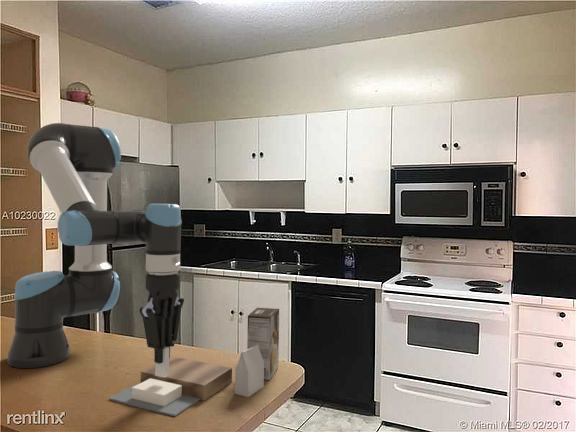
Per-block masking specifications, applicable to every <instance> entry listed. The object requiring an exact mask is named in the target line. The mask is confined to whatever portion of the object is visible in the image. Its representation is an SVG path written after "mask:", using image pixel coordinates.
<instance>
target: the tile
mask: <svg viewBox="0 0 576 432" xmlns="http://www.w3.org/2000/svg"><path fill="white" fill-rule="evenodd" d="M137 384H138V385H136V384H135V385H136V386H134V385H133V386H134V387H132V386H131V387H132V398H133V399H137V400H141V401H145V402H149V403H153V404H157V405H161V406H166V405H167V404H169V403H171V402H172V401H174V400H176V399H177V398H179V397H181V396H182V385H178V384H174V383H169V382H165V381H160V380H156V379H151V378H150V379H148V380H146V381H144V382H142V383H141V382H140V383H137Z"/></svg>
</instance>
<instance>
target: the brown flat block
mask: <svg viewBox="0 0 576 432" xmlns="http://www.w3.org/2000/svg"><path fill="white" fill-rule="evenodd" d="M150 378H151V379H156V380H160V381H165V382H169V383H174V384H178V385H182V395H187V396H191V397H195V398H200V401H204V402H205V401H206V400H207V399H209V398H211V397H212V396H213V395H215V394H216V393H218V392H219V391H221V390H222V389H224V388H225V387H227V386H228V385H230V384H231V383H233V368H232V367H229V366H224V365H218V364H214V363H209V362H203V361H197V360H193V359H187V358H184V357H183V358H182V357H177V356H170V359H169V376H167V377H165V378H164V377H159V376H155V364H154V365H152V366H150V367H147V368H145V369H142V370H141V371H140V383H142V382H144V381H146V380H148V379H150ZM229 383H230V384H229Z"/></svg>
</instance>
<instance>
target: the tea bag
mask: <svg viewBox="0 0 576 432" xmlns="http://www.w3.org/2000/svg"><path fill="white" fill-rule="evenodd" d="M238 359H239V360H238V361H237V364H236V366H235V368H234V394H235V395H238V396H243V397H246V398H249V397H250V396H252V395H254V394H255V393H256V392H259V391H260V390H261V389H263V388H265V387H264V386H265V384H264V383H265V379H264V361H263V358H262V356H261V353H260V350H259V345H255V346H253V347H251V348H249V349H246V350H245V349H244V350H243V351H240V356H239V358H238Z"/></svg>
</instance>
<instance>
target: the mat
mask: <svg viewBox="0 0 576 432" xmlns="http://www.w3.org/2000/svg"><path fill="white" fill-rule="evenodd" d="M138 384H139V383H136V384H134V385H132V386H130V387H128V388H126V389H124V390H122V391H121V392H120V391H119V392H118V393H116V394H114V395H113V396H110V397H108V400H109V401H113V402H116V403H120V404H124V405H129V406H131V407H132V406H133V407H135V408H139V409H143V410H147V411H152V412H155V413H159V414H163V415H167V416H172V417H177V416H178V415H180V414H181V413H183V412H184V411H186V410H187V409H189V408H190V407H192V406H194V405H195V404H197V403H198V402H200V401H201V400H200V398H195V397H191V396H187V395H182V396H181V397H179V398H177V399H176V400H174V401H172V402H171V403H169V404H167V405H166V406H161V405H157V404H153V403H149V402H145V401H141V400H137V399H133V398H132V387H134V386H136V385H138ZM199 400H200V401H199Z"/></svg>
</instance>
